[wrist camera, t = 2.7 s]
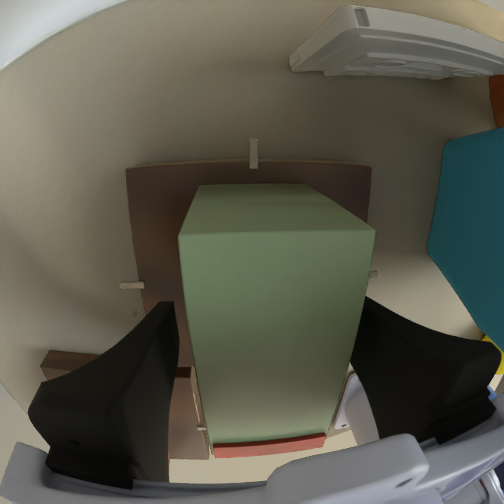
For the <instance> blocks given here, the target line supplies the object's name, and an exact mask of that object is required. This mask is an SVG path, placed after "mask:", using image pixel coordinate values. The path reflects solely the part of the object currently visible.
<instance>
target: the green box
mask: <svg viewBox="0 0 504 504" xmlns="http://www.w3.org/2000/svg"><path fill="white" fill-rule="evenodd" d="M375 236H376V230H375V229H374V228H372V227H371V226H369V225H368V224H367V223H365V222H364V221H362V220H361V219H359V218H358V217H356V216H355V215H353V214H352V213H350V212H349V211H347V210H346V209H344V208H343V207H341V206H340V205H338V204H337V203H335V202H334V201H332V200H331V199H329V198H328V197H326V196H324V195H323V194H321V193H320V192H318V191H317V190H315V189H313V188H312V187H310V186H309V185H307V184H288V183H266V184H217V185H200V186H199V187H198V190H197V192H196V194H195V196H194V199H193V201H192V203H191V206H190V208H189V211H188V213H187V215H186V218H185V220H184V223H183V225H182V228H181V230H180V232H179V235H178V244H179V254H180V264H181V274H182V283H183V291H184V299H185V307H186V315H187V322H188V329H189V336H190V343H191V349H192V356H193V362H194V368H195V374H196V379H197V385H198V390H199V396H200V401H201V406H202V411H203V416H204V421H205V426H206V431H207V435H208V440H209V444H210V449H211V453H212V455H214V456H215V458H230V457H248V456H260V455H271V454H279V453H287V452H295V451H301V450H307V449H313V448H319V447H322V446H323V444H324V441H325V439H326V435H327V432H328V430H329V427H330V424H331V421H332V418H333V415H334V412H335V409H336V406H337V403H338V400H339V397H340V393H341V390H342V387H343V383H344V380H345V377H346V373H347V370H348V366H349V362H350V359H351V355H352V351H353V347H354V343H355V339H356V335H357V331H358V327H359V323H360V318H361V314H362V309H363V304H364V300H365V295H366V290H367V284H368V279H369V273H370V268H371V262H372V256H373V249H374V243H375Z"/></svg>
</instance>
